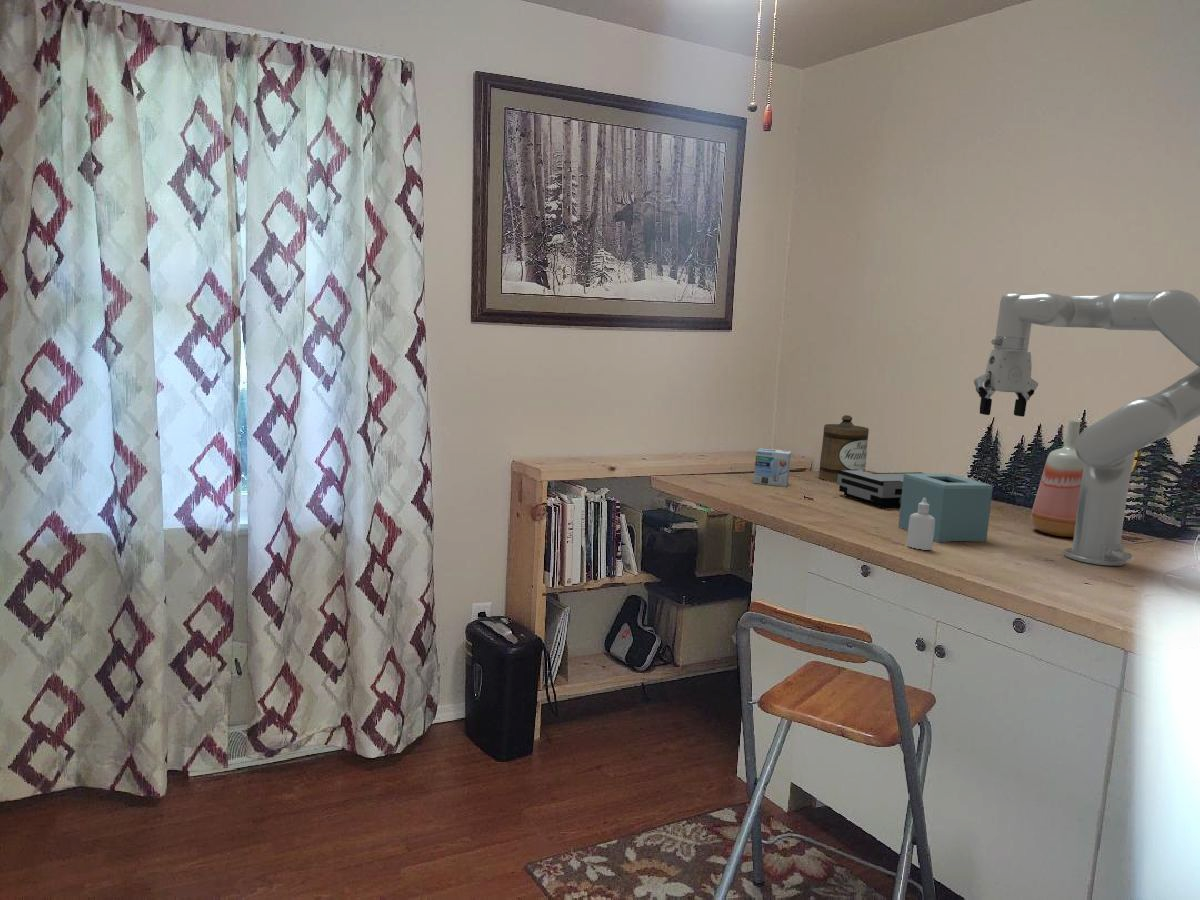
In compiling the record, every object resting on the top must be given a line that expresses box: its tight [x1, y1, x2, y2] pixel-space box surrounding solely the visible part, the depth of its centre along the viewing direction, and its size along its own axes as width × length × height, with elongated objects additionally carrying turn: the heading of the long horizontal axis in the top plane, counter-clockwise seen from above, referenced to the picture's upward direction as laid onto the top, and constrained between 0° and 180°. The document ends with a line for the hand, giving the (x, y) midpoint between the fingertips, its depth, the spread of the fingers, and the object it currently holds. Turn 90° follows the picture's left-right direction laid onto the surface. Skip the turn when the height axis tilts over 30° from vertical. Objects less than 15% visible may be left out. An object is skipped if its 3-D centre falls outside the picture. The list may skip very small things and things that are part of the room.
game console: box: [836, 469, 927, 509], centre depth 269 cm, size 21×32×8 cm, turn 112°
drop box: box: [898, 473, 994, 543], centre depth 224 cm, size 16×14×14 cm
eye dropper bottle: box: [906, 498, 935, 551], centre depth 208 cm, size 4×6×12 cm
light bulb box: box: [753, 447, 792, 488], centre depth 286 cm, size 11×7×11 cm, turn 73°
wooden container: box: [818, 414, 870, 483], centre depth 301 cm, size 15×15×22 cm
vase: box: [1030, 420, 1085, 538], centre depth 231 cm, size 14×14×30 cm
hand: (1001, 415), depth 219 cm, fingers open, 9 cm apart
